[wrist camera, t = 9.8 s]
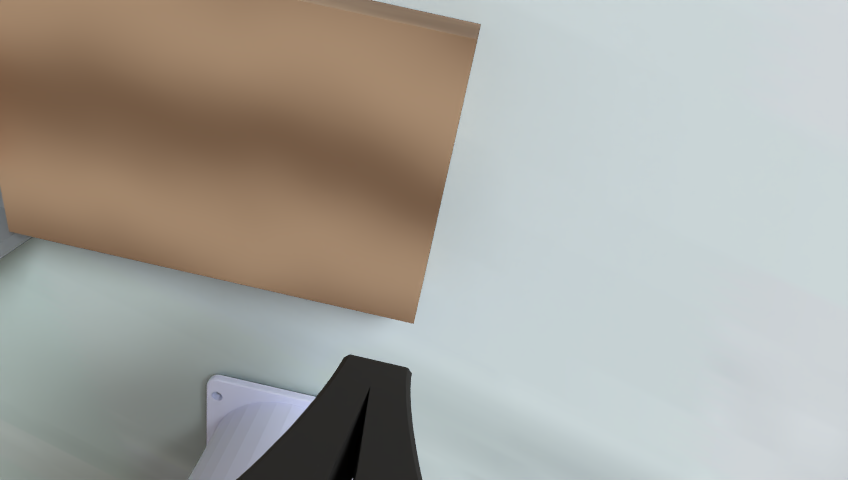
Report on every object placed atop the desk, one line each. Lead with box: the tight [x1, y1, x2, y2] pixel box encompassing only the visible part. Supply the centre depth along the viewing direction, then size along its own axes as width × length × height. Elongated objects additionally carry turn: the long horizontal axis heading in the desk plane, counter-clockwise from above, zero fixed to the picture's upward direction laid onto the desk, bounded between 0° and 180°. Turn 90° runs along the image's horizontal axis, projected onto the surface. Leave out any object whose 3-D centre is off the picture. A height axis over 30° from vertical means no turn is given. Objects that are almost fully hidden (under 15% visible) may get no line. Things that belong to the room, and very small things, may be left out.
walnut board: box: [0, 0, 481, 324], centre depth 20 cm, size 10×15×2 cm, turn 79°
